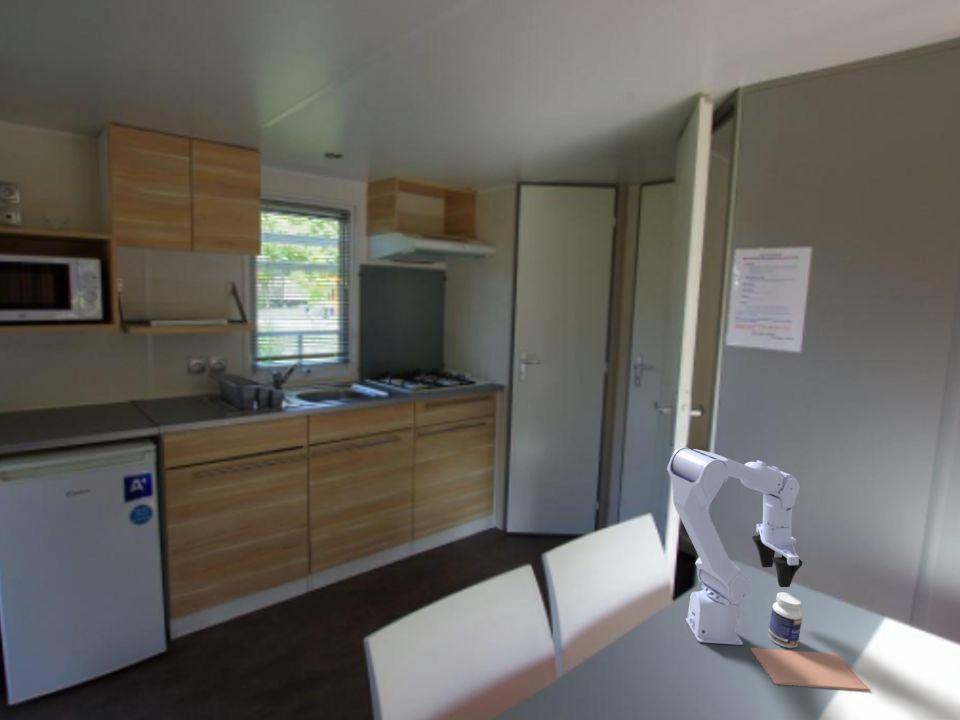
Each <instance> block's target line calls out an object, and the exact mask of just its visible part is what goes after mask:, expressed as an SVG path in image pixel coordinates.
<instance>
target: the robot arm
mask: <svg viewBox="0 0 960 720" xmlns="http://www.w3.org/2000/svg"><path fill="white" fill-rule="evenodd" d="M666 469H667V472H668V474H669V477H670V479H671V485H672V499H673V505H674V508H675V510H676V512H677V514H678V516H679V517H680V520H681V522H682V524H683V526H684V528H685V530H686V533H687V535H688V536H689V539H690V541H691V543H692V544H693V547H694V549H695V551H696V553H697V555H698V558H697V559H696V561H695V563H694V564H695V565H696V568H697V569H696V570H697V578H698V579H697V580H699V581H700V583H701V588H700V589H701V590H699V591H693V592H691V593H690V596H689V604H688V612H687V617H686V618H685V621H686V623H687V625H688V627H689V629H690V630H691V631H692V633H693V635H694V636H695V638H696V640H697V641H698V642H699V643H707V644H708V643H709V644H710V643H711V644H722V645H735V646H736V645H737V646H743V644H744V642H743V640H741V638H740V637H739V635H738V634H737V632H736V630H737V623H738V616H739V608H740V604H743V603H744V602H746V601H747V600H748V598H749V597H750V595H751V591H752V581H751V579H750V578H749V577H748V576H747V575H744V574H743V571H742V569H740V568H739V567H738V565H737V564H736V563H734V562H733V560H731V559H730V558H729V556H728V553H727V552H726V549H725V547H724V544H723V543H722V540H721V538H720V536H719V534H718V532H717V529H716V527H715V525H714V523H713V520H712V518H711V516H710V513H709V512H708V510H707V507H706V506H710V505H711V503H712V502H713V500H714V499H715V497H716V495H717V494H718V492H719V491H720V489H721V487H722V486H723V484H724V483H727V482H728V479H729V477H731V478H735V479H738V480H740V483H741V484H742V485H743V486H744V487H745V488H748V489H751V490H755V491H757V492H760V493H762V494H763V498H762V499H763V500H762V523H756V527H755V528H756V533H758V534H756V535H752V537H751V538H752V540H753V542H754V544H755V546H756V549H757V552H758V557H759V560H760V564H761V567H762V568H772V567H773V566H774V567H775V569H776V576H777V577H776V578H777V583H778V586H779V587H780V588H789V587H791V584H792V582H793V579H794V576H795V574H796V573H797V571H798V570H799V569H800V568H801V567H802V566H803V561H802V560H801V559H800V556H799V555H798V554H797V551H796V549H795V547H794V544H797V540H796V538H794V537H793V536H792V528H793V527H792V524H793V521H792V520H793V507H794V506H795V504H796V500H797V496H798V494H799V491H800V489H801V488H800V487H801V485H800V484H799V482H798V480H797V478H796V477H795V476H794V475H792V474H791V473H788V472H784V471H782V470H780V468H778V467H777V466H774V465H772V466H770V465H769V466H768V465H767V462H764V461H760V460H758V459H757V460H756V461H748V462H746V463H744V464H743V463H740V462H738V461H736V460H733V459H730V458H727V457H725V456H723V455H719V454H717V453H713V452H710V451H705V450H700V449H697V448H693V449H691V448H689V447H687V446H681V447H678V448H677V449H675V451H674V452H673V453H672V455H671V457H670V460H669V462H668V464H667V467H666ZM775 553H778V554H780V555H781V556H778V557H777V556H776V557H775Z"/></svg>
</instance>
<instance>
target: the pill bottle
mask: <svg viewBox="0 0 960 720" xmlns="http://www.w3.org/2000/svg"><path fill="white" fill-rule="evenodd" d="M801 608H802V600H801V599H800V598H799V597H797V596H796V595H794V594H791V593H788V592H784V591H783V592H782V591H781V592H778V593H777V594H776V598H775V602H773V603H772V609H771V613H770V614H771V616H770V621H769V625H768V637H769V639H770V640H771V641H772V642H773V643H775V644H776V645H778V646H780V647H783V648H787V649H792V648H797V646H798V645H799V639H800V635H801V628H802V620H803V613H802V610H801Z"/></svg>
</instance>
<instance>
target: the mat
mask: <svg viewBox="0 0 960 720" xmlns="http://www.w3.org/2000/svg"><path fill="white" fill-rule="evenodd" d="M749 649H750V651H751V652H752V654H753V655H754V657H755V656H756V657H755V658H756V660H757V662H759V663H761V664H760V665H761V666H762V667H763V669H764V670H765V672H766V674H769V675H768V676H769V678H772V679H771V680H772V682H773V683H774V685H778V684H779V685H781V686H792V685H794V686H795V687H806V686H807V687H808V688H823V689H824V688H825V689H836V690H838V689H839V690H850V691H864V692H865V691H866V692H870V690H871V689H870V688H869V687H868V685H867V684H866V683H865V682H864V681H863V680H862V679H861V678H860V677H859V676H858V674H856V672H854V671H853V669H852V668H850V667H849V666H848V665H847V663H846V662H845V661H843V659H842V658H841V657H840V656H839V654H837V653H831V652H830V653H829V652H827V653H826V652H815V651H814V652H813V651H801V650H786V649H785V650H783V649H774V648H773V649H771V648H759V647H750V648H749ZM796 685H797V686H796ZM794 686H793V687H794Z"/></svg>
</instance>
